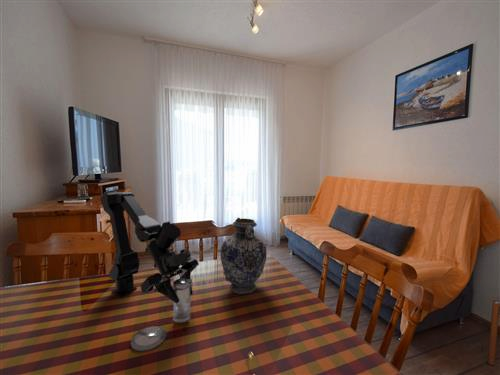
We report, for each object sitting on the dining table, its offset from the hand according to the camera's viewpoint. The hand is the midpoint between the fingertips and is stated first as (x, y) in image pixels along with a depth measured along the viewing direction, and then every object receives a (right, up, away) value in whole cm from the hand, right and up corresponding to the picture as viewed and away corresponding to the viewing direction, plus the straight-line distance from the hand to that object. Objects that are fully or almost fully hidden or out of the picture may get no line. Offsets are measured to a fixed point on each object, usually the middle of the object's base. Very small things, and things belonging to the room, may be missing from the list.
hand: (184, 298), depth 71 cm
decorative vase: (+17, -7, +23) cm, 30 cm away
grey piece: (-1, -7, +1) cm, 7 cm away
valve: (-7, -7, +23) cm, 25 cm away
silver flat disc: (-8, -8, -6) cm, 13 cm away
